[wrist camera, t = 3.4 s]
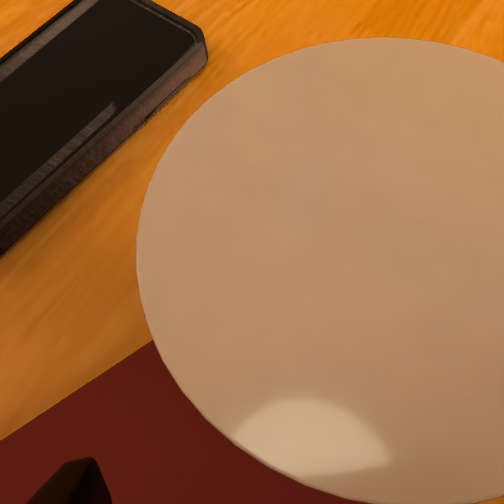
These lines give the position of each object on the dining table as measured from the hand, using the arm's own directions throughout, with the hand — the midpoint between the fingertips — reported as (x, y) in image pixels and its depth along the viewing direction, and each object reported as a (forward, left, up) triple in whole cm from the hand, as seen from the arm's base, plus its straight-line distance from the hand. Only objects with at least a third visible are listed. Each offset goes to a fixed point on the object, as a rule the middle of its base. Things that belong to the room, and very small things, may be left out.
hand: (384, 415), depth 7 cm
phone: (+11, +15, -9) cm, 21 cm away
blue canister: (+2, +1, -9) cm, 9 cm away
